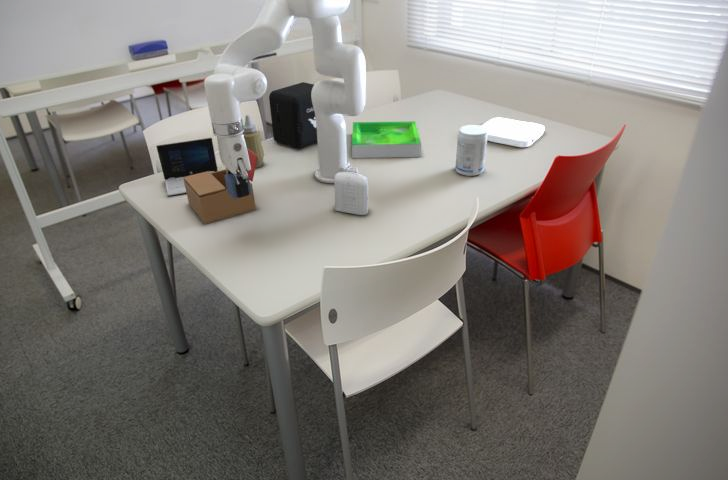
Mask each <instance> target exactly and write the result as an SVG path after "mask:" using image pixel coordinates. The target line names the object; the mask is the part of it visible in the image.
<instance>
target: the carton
mask: <svg viewBox="0 0 728 480" xmlns="http://www.w3.org/2000/svg"><path fill="white" fill-rule="evenodd" d="M238 171H239V170H237V172H238ZM212 172H213V171H212ZM224 175H227V174H226V168H225V169H221V170H218V171H217V172H213V173H210V172H209V171H207V172H203V173H198V174H194V175H190V176H186V177H182V178H184V184H185V188H186V193H185V194H186V196H187V201H188V205H189V206H190V207H191V209H192V210H193V211H194V213H195V214H196V215H197V216H198V218H200V220H201V221H202V222H203V224H204V225H207V224H210V223H214V222H217V221H221V220H223V219H227V218H231V217H235V216H238V215H241V214H245V213H248V212H252V211H255V210H257V209H256V201H255V195H254V193H255V192H254V187H253V183H252V182H251V181H250V187H251V193H252V194H250V195H248V196H245V197H241V198H236V199H234V198H233V197H232V196H231V195H230V194H229V193H228V192H227V187H226V182H225V176H224Z"/></svg>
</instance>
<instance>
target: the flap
mask: <svg viewBox="0 0 728 480" xmlns="http://www.w3.org/2000/svg"><path fill="white" fill-rule="evenodd" d="M247 151H248V156H249V161H250V166H251V170H250V171H247V170H246V172H247V174H248V177H249V181H250V182H251V183H252V182H254V176H255V172H256V168H257V167H256V162H257V157H258V156H257V155H256V154H254V153H253V152H252V151H250V150H249V149H248V148H247ZM255 167H256V168H255ZM238 171H240V170H238Z"/></svg>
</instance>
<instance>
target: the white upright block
mask: <svg viewBox="0 0 728 480" xmlns="http://www.w3.org/2000/svg"><path fill="white" fill-rule="evenodd" d="M333 184H334V186H333V188H334V209H335V211H337V212H341V213H346V214H350V215H351V214H352V215H357V216H366V215H368V213H369V179H368V177H367V176H365V175H363V174H361V173H359V172H358V173H353V172H339V173H337V174H336V175H335V179H334V183H333Z"/></svg>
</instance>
